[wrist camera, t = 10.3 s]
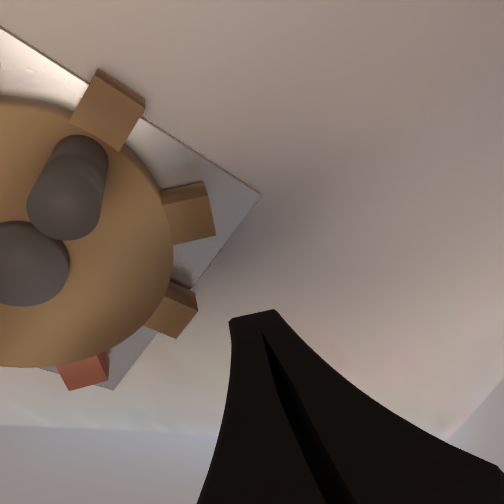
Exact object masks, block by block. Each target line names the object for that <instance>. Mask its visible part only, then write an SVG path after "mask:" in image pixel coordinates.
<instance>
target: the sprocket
mask: <svg viewBox="0 0 504 504" xmlns="http://www.w3.org/2000/svg"><path fill="white" fill-rule="evenodd" d="M144 110H145V99H143V98H142V97H140V96H139V95H137V94H136V93H134V92H133V91H131V90H130V89H128V88H127V87H125V86H124V85H122V84H121V83H119V82H118V81H116V80H115V79H113V78H112V77H110V76H109V75H107V74H106V73H104V72H103V71H101V70H100V69H97V71H96V73H95V75H94V77H93V78H92V80H91V82H90V84H89V86H88V87H87V89H86V91H85V93H84V95H83V97H82V98H81V100H80V102H79V104H78V106H77V107H76V109H75V111H74V112H73V111H70V110H68V109H65V108H62V107H60V106H57V105H53V104H49V103H45V102H42V101H38V100H32V99H25V98H18V97H1V96H0V366H3V367H19V368H34V367H49V366H56V368H57V370H58V372H59V374H60V375H61V377H62V379H63V381H64V383H65V385H66V386H67V388H68V390H69V391H71V390H75V389H78V388H82V387H86V386H90V385H94V384H98V383H101V382H105V381H108V377H109V364H110V359H109V356H108V354H107V352H106V351H107V350H109V349H111V348H113V347H114V346H116V345H118V344H120V343H121V342H123V341H124V340H126V339H127V338H129V337H130V336H131V335H133V334H134V333H135V332H136V331H137V330H138V329H139V328H141V327H142V326H145V327H147V328H150V329H153V330H155V331H158V332H160V333H163V334H165V335H168V336H170V337H173V338H176V339H177V337H178V336H179V335H180V333H181V332H182V331H183V330H184V328H185V327H186V326H187V324H188V323H189V322H190V321H191V319H192V318H193V317H194V316H195V314H196V313H197V312H198V308H197V302H196V297H195V293H194V292H192V291H190V290H188V289H186V288H184V287H181V286H179V285H177V284H175V283H173V282H170V278H171V274H172V267H173V258H174V257H173V245H177V244H181V243H186V242H190V241H195V240H199V239H203V238H208V237H212V236H216V231H215V226H214V221H213V216H212V211H211V206H210V201H209V197H208V193H207V190H206V187H205V184H204V182H201V183H196V184H191V185H187V186H182V187H177V188H172V189H168V190H163V191H161V190H160V188H159V186H158V184H157V182H156V180H155V179H154V177H153V176H152V174H151V173H150V171H149V170H148V168H147V167H146V166H145V164H144V163H143V162H142V161H141V160H140V158H139V157H138V156H137V155H136V154H135V153H134V152H133V151H132V150H131V149H130V148H129V147H128V146H127V145H126V144H125V141H126V140H127V138H128V136H129V135H130V133H131V131H132V130H133V128H134V126H135V125H136V123H137V122H138V120H139V118H140V117H141V115H142V113H143V112H144Z"/></svg>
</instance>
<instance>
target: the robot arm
mask: <svg viewBox="0 0 504 504" xmlns="http://www.w3.org/2000/svg"><path fill="white" fill-rule="evenodd" d="M229 329H230V335H231V343H232V347H231V367H230V378H229V385H228V392H227V398H226V404H225V410H224V415H223V419H222V424H221V428H220V432H219V436H218V440H217V443H216V447H215V451H214V455H213V458H212V461H211V464H210V467H209V471H208V474H207V477H206V479H205V482H204V485H203V488H202V491H201V493H200V496H199V499H198V502H197V504H504V473H503V472H502V471H501V470H500V469H499V467H498V466H496V465H494V464H492V463H490V462H488V461H485V460H483V459H481V458H479V457H476V456H474V455H472V454H470V453H468V452H465V451H463V450H461V449H459V448H456V447H454V446H452V445H450V444H448V443H446V442H444V441H442V440H440V439H438V438H437V437H435V436H433V435H431V434H429V433H427V432H425V431H424V430H422V429H420V428H418V427H417V426H415V425H413V424H412V423H410V422H408V421H407V420H405V419H403V418H402V417H400V416H398V415H396V414H395V413H393V412H391V411H390V410H388V409H387V408H385V407H384V406H382V405H381V404H379V403H378V402H376V401H375V400H373V399H372V398H371V397H369V396H368V395H366V394H365V393H364V392H362V391H361V390H359V389H358V388H357V387H356V386H354V385H353V384H352V383H350V382H349V381H348V380H347V379H345V378H344V377H343V376H342V375H340V374H339V373H338V372H337V371H336V370H334V369H333V368H332V367H331V366H330V365H329V364H328V363H326V362H325V361H324V360H323V359H322V358H321V357H320V356H319V355H318V354H317V353H316V352H315V351H313V350H312V349H311V348H310V347H309V346H308V345H307V344H306V343H305V342H304V341H303V340H302V339H301V338H300V337H299V336H298V335H297V334H296V332H295V331H294V330H293V329H292V328H291V327H290V326H289V325H288V324H287V323H286V321H285V320H284V319H283V318H282V317H281V316H280V314H279V313H278V312H277V311H276V310H274V309H272V310H267V311H263V312H258V313H254V314H249V315H245V316H240V317H236V318H232V319H231V320H230V321H229Z"/></svg>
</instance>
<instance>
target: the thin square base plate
mask: <svg viewBox="0 0 504 504" xmlns="http://www.w3.org/2000/svg"><path fill="white" fill-rule="evenodd" d="M88 86H89V83H88V82H86V81H85V80H83V79H82V78H80V77H78V76H77V75H75V74H74V73H72V72H71V71H69V70H68V69H66V68H64V67H63V66H61V65H60V64H58V63H57V62H55V61H54V60H52V59H50V58H49V57H47V56H46V55H44V54H43V53H41V52H40V51H38V50H36V49H35V48H33V47H32V46H30V45H29V44H27V43H26V42H24V41H22V40H21V39H19V38H18V37H16V36H15V35H13V34H12V33H10V32H8V31H7V30H5V29H4V28H2V27H1V26H0V96H1V97H18V98H25V99H32V100H38V101H42V102H45V103H49V104H53V105H57V106H60V107H62V108H65V109H68V110H70V111H73V112H74V111H75V109H76V107H77V106H78V104H79V102H80V100H81V98H82V97H83V95H84V93H85V91H86V89H87V87H88ZM125 144H126V145H127V146H128V147H129V148H130V149H131V150H132V151H133V152H134V153H135V154H136V155H137V156H138V157H139V158H140V160H141V161H142V162H143V163H144V164H145V166H146V167H147V168H148V170H149V171H150V173H151V174H152V176H153V177H154V179H155V180H156V182H157V184H158V186H159V188H160V190H161V191H163V190H168V189H172V188H177V187H182V186H187V185H191V184H196V183H201V182H204V184H205V187H206V190H207V193H208V197H209V201H210V206H211V211H212V216H213V221H214V226H215V231H216V236H212V237H208V238H203V239H199V240H195V241H190V242H186V243H181V244H177V245H173V257H174V258H173V267H172V274H171V278H170V282H173V283H175V284H177V285H179V286H181V287H184V288H186V289H188V290H190V289H191V287H192V286H193V285H194V283H195V282H196V281H197V280H198V278H199V277H200V276H201V274H202V273H203V272H204V270H205V269H206V268H207V266H208V265H209V264H210V262H211V261H212V260H213V258H214V257H215V256H216V254H217V253H218V252H219V251H220V249H221V248H222V247H223V245H224V244H225V243H226V241H227V240H228V239H229V237H230V236H231V235H232V233H233V232H234V231H235V229H236V228H237V227H238V225H239V224H240V223H241V222H242V220H243V219H244V218H245V216H246V215H247V214H248V212H249V211H250V210H251V208H252V207H253V206H254V204H255V203H256V202H257V200H258V199H259V198H260V196H261V194H260V193H259V192H258V191H256V190H254V189H253V188H251V187H250V186H248V185H247V184H245V183H244V182H242V181H240V180H239V179H237V178H236V177H234V176H233V175H231V174H230V173H228V172H226V171H225V170H223V169H222V168H220V167H219V166H217V165H216V164H214V163H212V162H211V161H209V160H208V159H206V158H205V157H203V156H202V155H200V154H198V153H197V152H195V151H194V150H192V149H191V148H189V147H188V146H186V145H184V144H183V143H181V142H180V141H178V140H177V139H175V138H174V137H172V136H170V135H169V134H167V133H166V132H164V131H163V130H161V129H159V128H158V127H156V126H155V125H153V124H152V123H150V122H149V121H147V120H145V119H144V118H142V117H140V118H139V120H138V122H137V123H136V125H135V126H134V128H133V130H132V131H131V133H130V135H129V136H128V138H127V140H126V141H125ZM157 332H158V331H155V330H153V329H150V328H147V327H145V326H142V327H141V328H139V329H138V330H137V331H136V332H135V333H134V334H133V335H131V336H130V337H129V338H127V339H126V340H124V341H123V342H121V343H120V344H118V345H116V346H114V347H113V348H111V349H109V350H107V351H106V352H107V354H108V356H109V359H110V364H109V377H108V381H105V382H101V383H98V384H94V385H97V386H100V387H104V388H107V389H110V390H114V389H115V388H116V386H117V385H118V384H119V382H120V381H121V380H122V378H123V377H124V376H125V374H126V373H127V372H128V370H129V369H130V368H131V367H132V365H133V364H134V363H135V361H136V360H137V359H138V357H139V356H140V355H141V353H142V352H143V351H144V349H145V348H146V347H147V345H148V344H149V343H150V341H151V340H152V339H153V338H154V336H155V335H156V334H157ZM37 368H40V369H44V370H47V371H50V372H54V373H57V374H59V372H58V370H57V368H56V366H49V367H37Z"/></svg>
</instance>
